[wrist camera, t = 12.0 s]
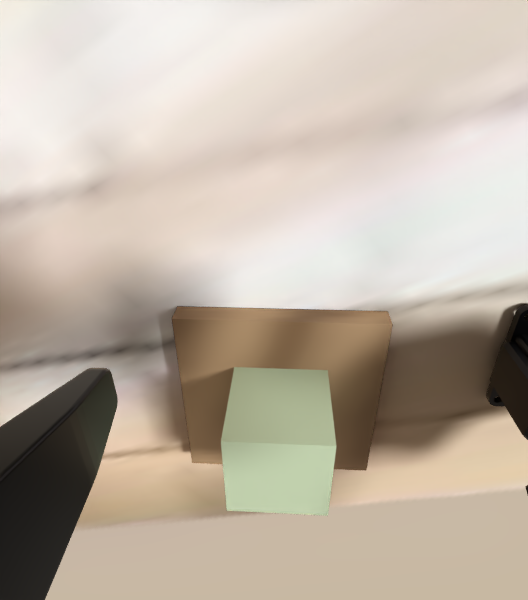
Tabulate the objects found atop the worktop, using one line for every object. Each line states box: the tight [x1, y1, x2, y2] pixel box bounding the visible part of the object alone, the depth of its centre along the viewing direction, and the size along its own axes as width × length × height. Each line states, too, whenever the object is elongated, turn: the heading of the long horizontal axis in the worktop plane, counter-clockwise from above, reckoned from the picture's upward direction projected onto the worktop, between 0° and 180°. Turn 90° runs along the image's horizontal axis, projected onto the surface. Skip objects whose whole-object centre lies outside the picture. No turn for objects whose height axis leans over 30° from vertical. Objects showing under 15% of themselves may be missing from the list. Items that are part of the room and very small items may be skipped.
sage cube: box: [221, 367, 336, 516], centre depth 22 cm, size 5×5×5 cm
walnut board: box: [172, 306, 393, 470], centre depth 24 cm, size 11×11×1 cm
